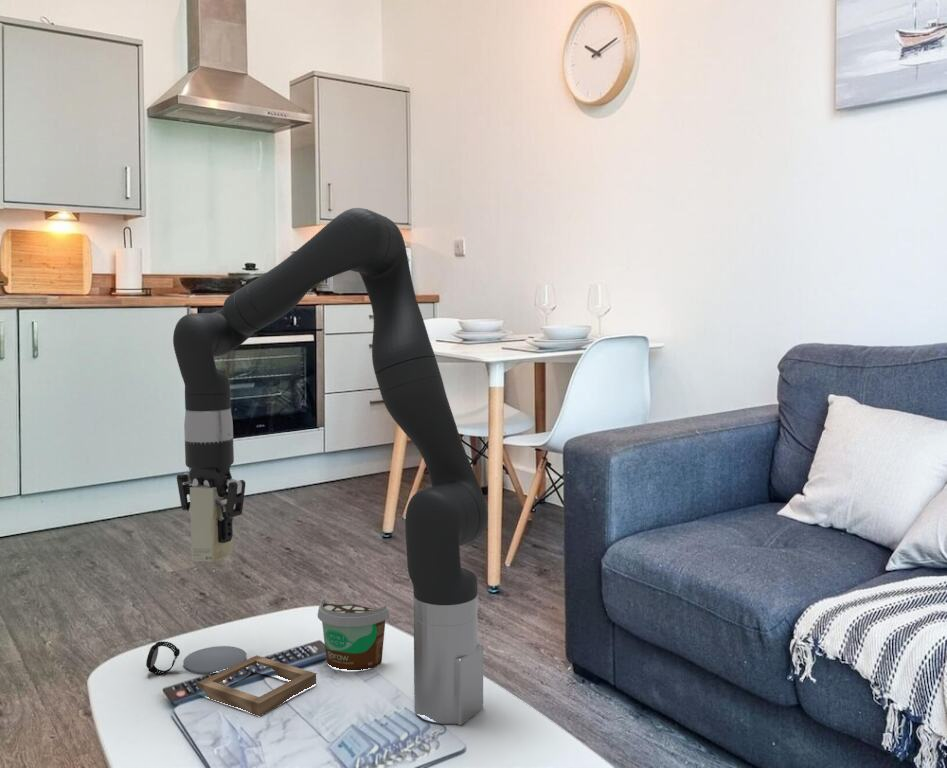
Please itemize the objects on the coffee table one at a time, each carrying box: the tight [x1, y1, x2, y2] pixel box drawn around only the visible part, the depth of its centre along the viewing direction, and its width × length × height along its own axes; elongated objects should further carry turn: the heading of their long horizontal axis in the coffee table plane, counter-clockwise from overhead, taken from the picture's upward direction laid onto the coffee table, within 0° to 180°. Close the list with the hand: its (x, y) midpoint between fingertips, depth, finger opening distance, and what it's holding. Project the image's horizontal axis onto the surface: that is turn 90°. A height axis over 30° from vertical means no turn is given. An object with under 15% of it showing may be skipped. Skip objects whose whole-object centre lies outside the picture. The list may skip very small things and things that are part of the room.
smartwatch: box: [145, 641, 181, 676], centre depth 137 cm, size 4×5×5 cm
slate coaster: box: [183, 645, 247, 675], centre depth 142 cm, size 10×10×1 cm
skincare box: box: [189, 485, 234, 563], centre depth 140 cm, size 6×4×12 cm
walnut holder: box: [196, 654, 317, 717], centre depth 131 cm, size 13×12×2 cm
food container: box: [317, 597, 390, 670], centre depth 140 cm, size 12×6×10 cm, turn 73°
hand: (212, 538), depth 140 cm, fingers closed on skincare box, 5 cm apart
